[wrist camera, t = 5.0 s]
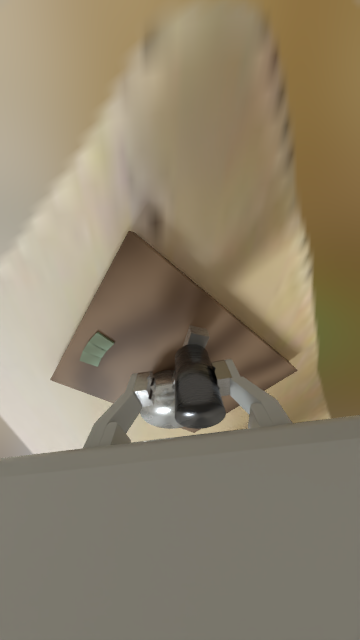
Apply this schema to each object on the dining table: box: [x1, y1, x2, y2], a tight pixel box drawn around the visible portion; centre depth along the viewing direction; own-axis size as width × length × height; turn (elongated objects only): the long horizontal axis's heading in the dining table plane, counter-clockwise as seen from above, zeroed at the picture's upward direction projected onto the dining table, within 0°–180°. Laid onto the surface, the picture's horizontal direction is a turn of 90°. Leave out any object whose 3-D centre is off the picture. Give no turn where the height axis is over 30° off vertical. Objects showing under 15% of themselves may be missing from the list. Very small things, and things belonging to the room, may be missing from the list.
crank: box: [140, 326, 226, 429], centre depth 13 cm, size 14×7×7 cm, turn 166°
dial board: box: [50, 231, 297, 433], centre depth 18 cm, size 24×20×2 cm
